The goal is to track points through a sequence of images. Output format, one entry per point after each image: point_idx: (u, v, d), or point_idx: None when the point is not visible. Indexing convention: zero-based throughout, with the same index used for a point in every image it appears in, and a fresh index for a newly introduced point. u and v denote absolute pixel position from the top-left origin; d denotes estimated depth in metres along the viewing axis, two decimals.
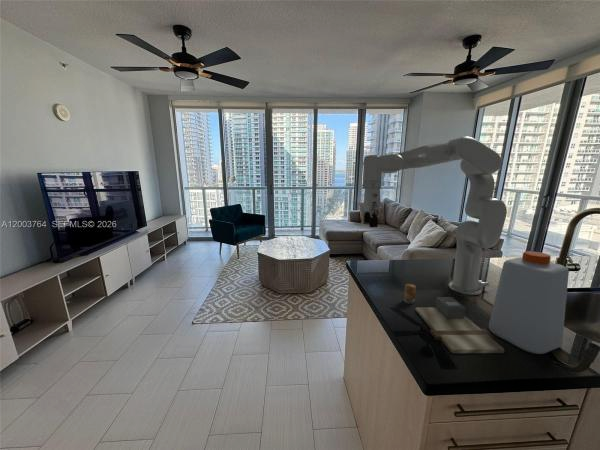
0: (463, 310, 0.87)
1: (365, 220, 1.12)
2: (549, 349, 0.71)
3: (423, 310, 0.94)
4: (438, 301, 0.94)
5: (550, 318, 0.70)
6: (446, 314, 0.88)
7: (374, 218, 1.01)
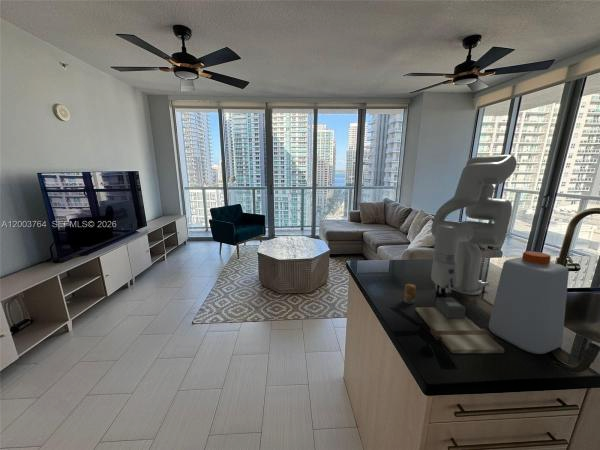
0: (464, 310, 0.87)
1: None
2: (549, 349, 0.71)
3: (423, 310, 0.94)
4: (438, 301, 0.93)
5: (550, 318, 0.70)
6: (446, 314, 0.88)
7: (443, 294, 0.95)
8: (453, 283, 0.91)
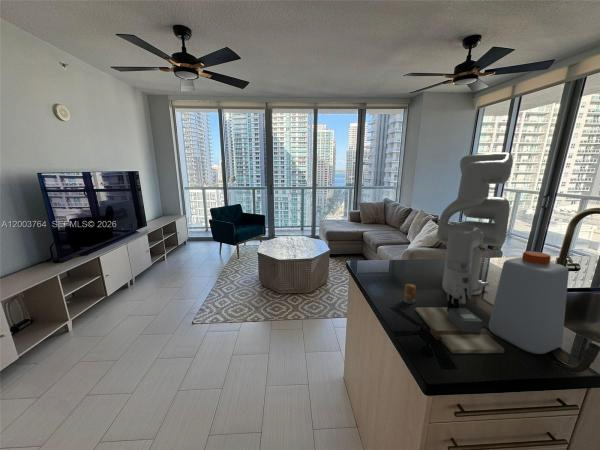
0: (480, 324, 0.79)
1: None
2: (549, 349, 0.71)
3: (423, 310, 0.94)
4: (451, 313, 0.86)
5: (550, 318, 0.70)
6: (461, 328, 0.80)
7: (456, 305, 0.87)
8: (468, 293, 0.83)
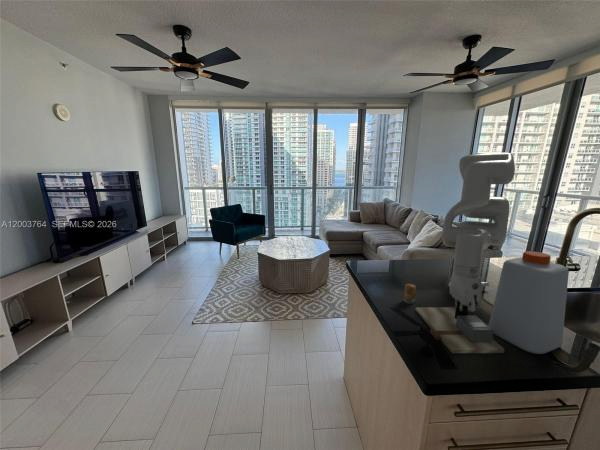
0: (491, 333, 0.74)
1: None
2: (549, 349, 0.71)
3: (423, 310, 0.94)
4: (459, 321, 0.81)
5: (550, 318, 0.70)
6: (470, 337, 0.75)
7: (464, 312, 0.83)
8: (477, 300, 0.78)
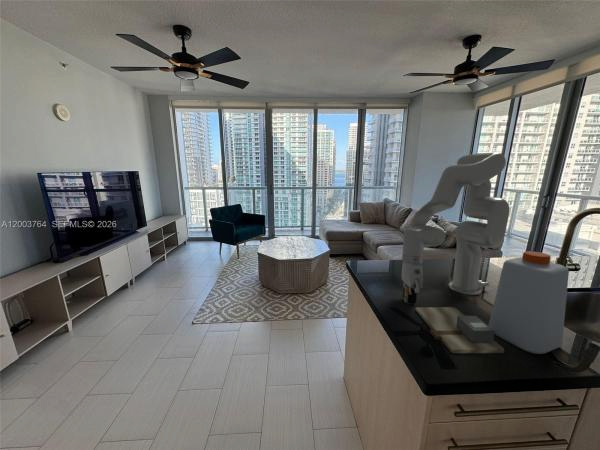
0: (491, 333, 0.74)
1: None
2: (549, 349, 0.71)
3: (423, 310, 0.94)
4: (459, 321, 0.81)
5: (550, 318, 0.70)
6: (471, 338, 0.75)
7: (413, 295, 0.99)
8: (419, 283, 0.96)
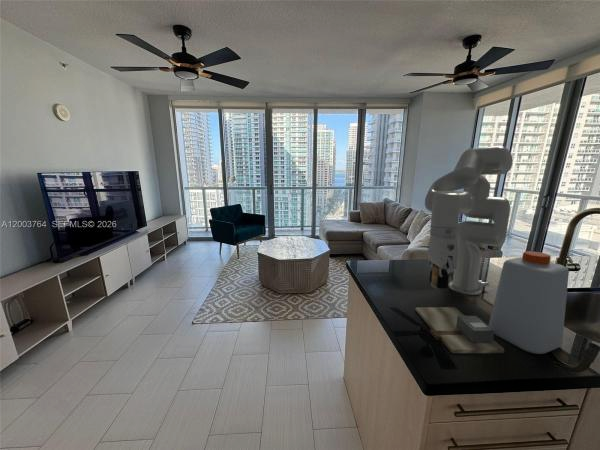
0: (491, 333, 0.74)
1: None
2: (549, 349, 0.71)
3: (423, 310, 0.94)
4: (459, 321, 0.81)
5: (550, 318, 0.70)
6: (471, 338, 0.75)
7: (444, 278, 0.78)
8: (453, 261, 0.76)
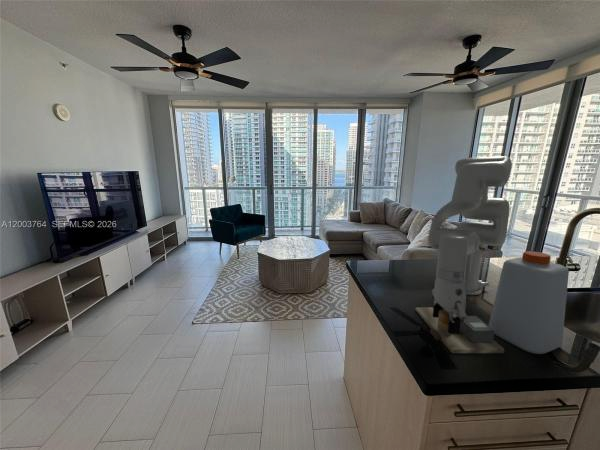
0: (491, 333, 0.74)
1: (435, 314, 0.83)
2: (549, 349, 0.71)
3: (423, 310, 0.94)
4: None
5: (550, 318, 0.70)
6: (471, 338, 0.75)
7: (456, 323, 0.74)
8: None
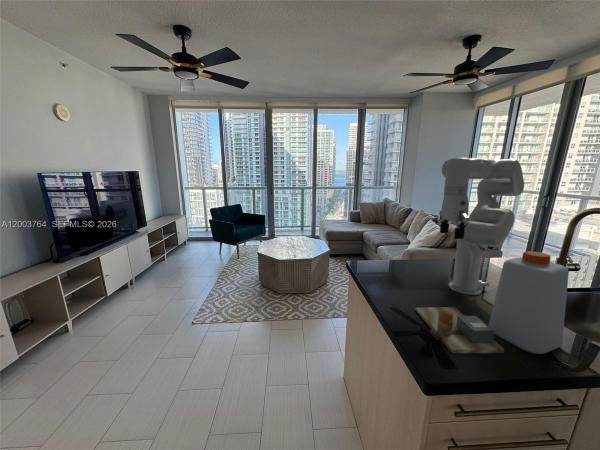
0: (491, 333, 0.74)
1: (442, 230, 1.01)
2: (549, 349, 0.71)
3: (423, 310, 0.94)
4: (459, 321, 0.81)
5: (550, 318, 0.70)
6: (471, 338, 0.75)
7: (461, 229, 0.90)
8: None
